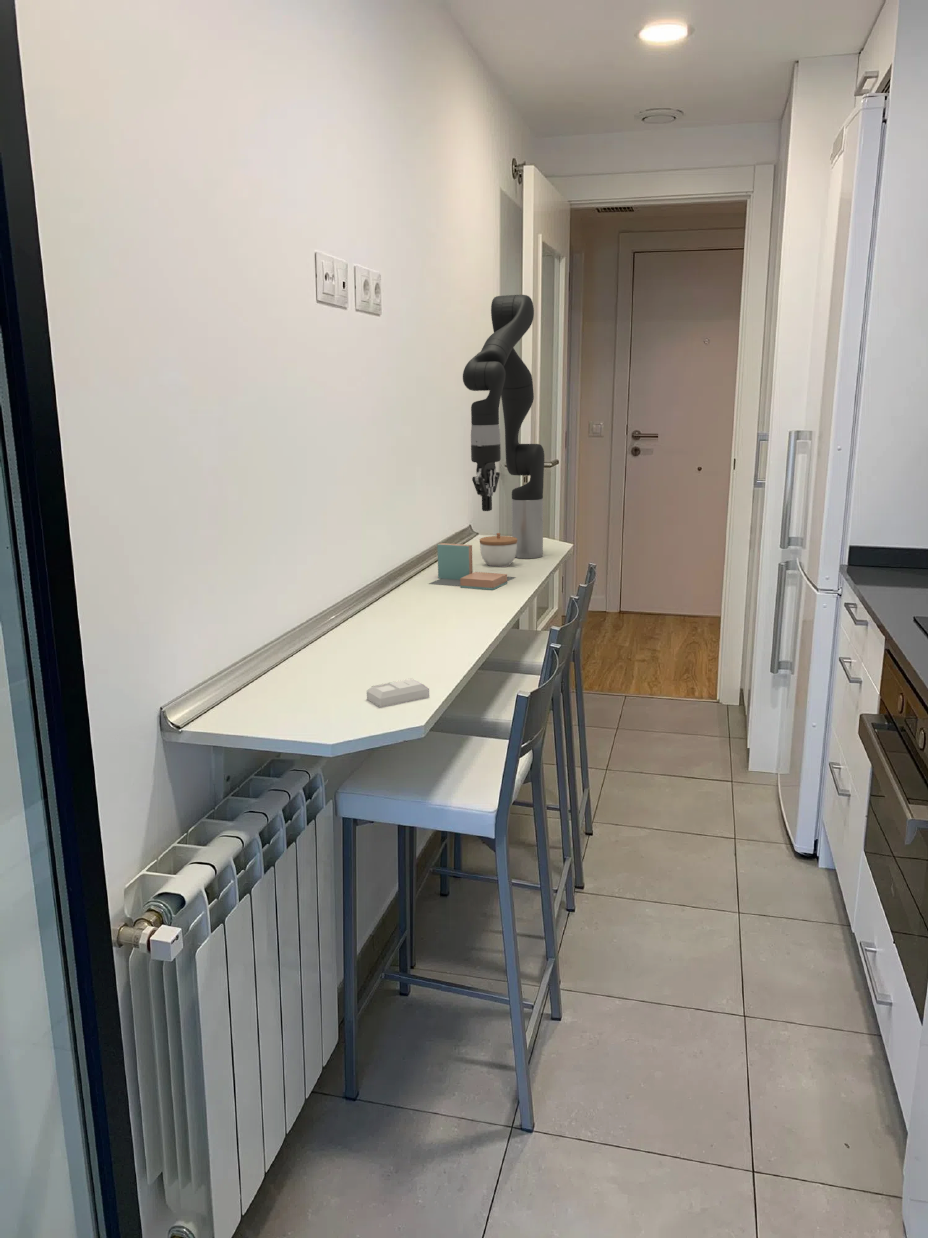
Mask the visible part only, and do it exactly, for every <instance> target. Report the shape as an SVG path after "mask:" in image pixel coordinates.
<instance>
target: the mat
mask: <svg viewBox="0 0 928 1238" xmlns="http://www.w3.org/2000/svg"><path fill="white" fill-rule="evenodd" d="M516 578H517V577H516V576H507V582H509V581H511V580H513V579H516ZM428 585H434V586H435V585H437V586H446V587H447V586H449V587H450V586H451V587H460V580H458V579H444V578H438V579H436V580H433V581H432V582H429V583H428Z"/></svg>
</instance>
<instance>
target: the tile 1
mask: <svg viewBox="0 0 928 1238" xmlns="http://www.w3.org/2000/svg"><path fill="white" fill-rule="evenodd" d="M436 548H437V578H438V579H441V578H444V579H458V580H460V578H462V577H464V576H467V575H469V574H472V573H474V572H473V544H464V543H463V544H459V543H444V542H443V543H438V544H437V547H436Z"/></svg>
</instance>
